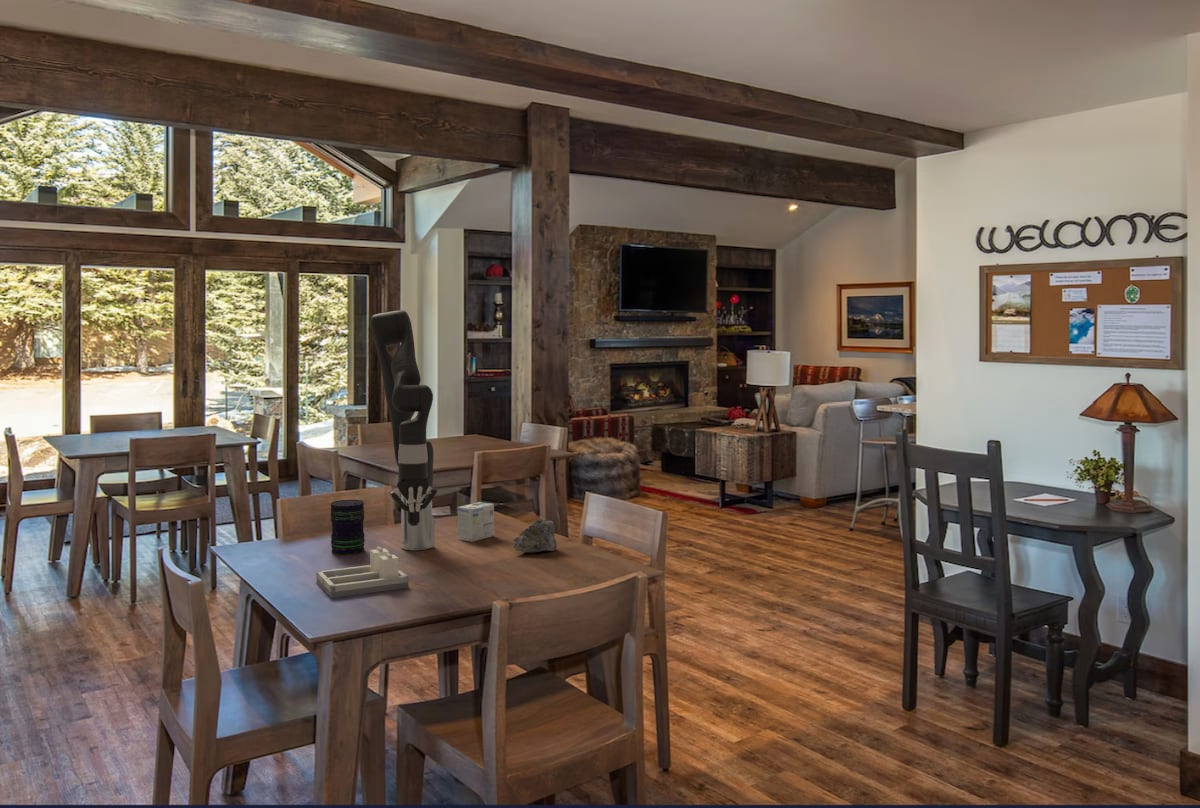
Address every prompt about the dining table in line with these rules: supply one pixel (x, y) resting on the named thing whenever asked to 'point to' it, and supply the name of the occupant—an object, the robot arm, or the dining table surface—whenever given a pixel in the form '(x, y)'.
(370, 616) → the dining table surface
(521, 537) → the mineral rock
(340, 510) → the storage jar
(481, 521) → the light bulb box
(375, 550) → the tab
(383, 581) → the switch bank
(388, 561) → the tab
